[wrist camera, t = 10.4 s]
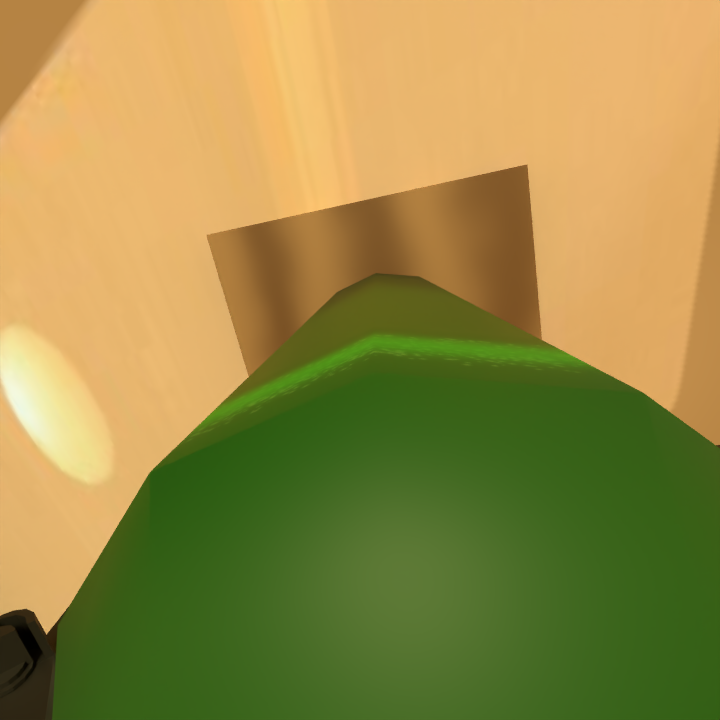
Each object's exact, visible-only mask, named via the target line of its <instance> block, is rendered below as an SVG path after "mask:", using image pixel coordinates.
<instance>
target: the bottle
mask: <svg viewBox="0 0 720 720" xmlns="http://www.w3.org/2000/svg"><path fill="white" fill-rule="evenodd" d="M52 720H720V448H719V447H717V446H716V445H714V444H713V443H712V442H710V441H709V440H707V439H706V438H705V437H703V436H702V435H701V434H699V433H698V432H696V431H695V430H694V429H692V428H691V427H689V426H688V425H687V424H685V423H684V422H683V421H681V420H680V419H679V418H677V417H676V416H674V415H673V414H672V413H670V412H669V411H668V410H666V409H665V408H663V407H662V406H661V405H659V404H658V403H656V402H655V401H654V400H652V399H651V398H650V397H648V396H647V395H645V394H644V393H642V392H640V391H639V390H637V389H635V388H633V387H631V386H629V385H627V384H625V383H623V382H621V381H619V380H617V379H616V378H614V377H612V376H610V375H608V374H606V373H604V372H602V371H600V370H598V369H596V368H594V367H592V366H591V365H589V364H587V363H585V362H583V361H581V360H579V359H577V358H575V357H573V356H571V355H569V354H567V353H566V352H564V351H562V350H560V349H558V348H556V347H554V346H552V345H550V344H548V343H546V342H544V341H543V340H541V339H539V338H537V337H535V336H533V335H531V334H529V333H527V332H525V331H523V330H521V329H519V328H518V327H516V326H514V325H512V324H510V323H508V322H506V321H504V320H502V319H500V318H498V317H496V316H494V315H493V314H491V313H489V312H487V311H485V310H483V309H481V308H479V307H477V306H475V305H473V304H471V303H470V302H468V301H466V300H464V299H462V298H460V297H458V296H456V295H454V294H452V293H450V292H448V291H446V290H445V289H443V288H441V287H439V286H437V285H435V284H433V283H431V282H429V281H427V280H425V279H423V278H421V277H420V276H408V275H395V274H382V273H375V274H373V275H371V276H369V277H367V278H365V279H363V280H360V281H358V282H356V283H354V284H352V285H350V286H348V287H346V288H344V289H342V290H340V291H338V292H336V293H335V294H334V295H333V296H332V297H331V298H330V299H329V300H328V301H327V302H326V303H325V304H324V305H323V306H322V307H321V308H320V309H319V310H318V311H317V312H316V313H315V314H314V315H313V316H312V317H310V318H309V319H308V320H307V321H306V322H305V323H304V324H303V325H302V326H301V327H300V328H299V329H298V330H297V331H296V332H295V333H294V334H293V335H292V336H291V337H290V338H289V339H288V340H287V341H286V342H285V343H284V344H283V345H281V346H280V347H279V348H278V349H277V350H276V351H275V352H274V353H273V354H272V355H271V356H270V357H269V358H268V359H267V360H266V361H265V362H264V363H263V364H262V365H261V366H260V367H259V368H258V369H257V370H256V371H255V372H253V373H252V374H251V375H250V376H249V377H248V378H247V379H246V380H245V381H244V382H243V383H242V384H241V385H240V386H239V387H238V388H237V389H236V390H235V391H234V392H233V393H232V394H231V395H230V396H229V397H228V398H227V399H225V400H224V401H223V402H222V403H221V404H220V405H219V406H218V407H217V408H216V409H215V410H214V411H213V412H212V413H211V414H210V415H209V416H208V417H207V418H206V419H205V420H204V421H203V422H202V423H201V424H200V425H199V426H198V427H196V428H195V429H194V430H193V431H192V432H191V433H190V434H189V435H188V436H187V437H186V438H185V439H184V440H183V441H182V442H181V443H180V444H179V445H178V446H177V447H176V448H175V449H174V450H173V451H172V452H171V453H170V454H168V455H167V456H166V457H165V458H164V459H163V460H162V461H161V462H160V463H159V464H158V465H157V466H156V467H155V468H154V469H153V470H152V471H151V472H150V473H149V475H148V477H147V478H146V480H145V482H144V483H143V485H142V487H141V488H140V490H139V492H138V493H137V495H136V496H135V498H134V500H133V501H132V503H131V505H130V506H129V508H128V510H127V511H126V513H125V515H124V516H123V518H122V520H121V521H120V523H119V525H118V526H117V528H116V530H115V531H114V533H113V535H112V536H111V538H110V540H109V541H108V543H107V545H106V546H105V548H104V550H103V551H102V553H101V555H100V556H99V558H98V560H97V561H96V563H95V565H94V566H93V568H92V569H91V571H90V573H89V574H88V576H87V578H86V579H85V581H84V583H83V584H82V586H81V588H80V589H79V591H78V593H77V594H76V596H75V598H74V599H73V601H72V603H71V604H70V606H69V608H68V609H67V611H66V613H65V614H64V616H63V618H62V619H61V621H60V623H59V624H58V629H57V646H56V663H55V680H54V697H53V714H52Z"/></svg>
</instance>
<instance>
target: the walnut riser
mask: <svg viewBox="0 0 720 720" xmlns="http://www.w3.org/2000/svg"><path fill="white" fill-rule="evenodd" d="M207 239H208V242H209V245H210V249H211V252H212V255H213V259H214V262H215V265H216V269H217V272H218V275H219V279H220V282H221V285H222V289H223V292H224V295H225V299H226V302H227V305H228V309H229V312H230V315H231V319H232V322H233V325H234V329H235V332H236V335H237V339H238V342H239V345H240V349H241V352H242V355H243V359H244V362H245V365H246V369H247V372H248V375H249V376H250V375H251V374H252V373H253V372H255V371H256V370H257V369H258V368H259V367H260V366H261V365H262V364H263V363H264V362H265V361H266V360H267V359H268V358H269V357H270V356H271V355H272V354H273V353H274V352H275V351H276V350H277V349H278V348H279V347H280V346H281V345H283V344H284V343H285V342H286V341H287V340H288V339H289V338H290V337H291V336H292V335H293V334H294V333H295V332H296V331H297V330H298V329H299V328H300V327H301V326H302V325H303V324H304V323H305V322H306V321H307V320H308V319H309V318H310V317H312V316H313V315H314V314H315V313H316V312H317V311H318V310H319V309H320V308H321V307H322V306H323V305H324V304H325V303H326V302H327V301H328V300H329V299H330V298H331V297H332V296H333V295H334V294H335V293H336V292H338V291H340V290H342V289H344V288H346V287H348V286H350V285H352V284H354V283H356V282H358V281H360V280H363V279H365V278H367V277H369V276H371V275H373V274H375V273H382V274H395V275H408V276H420V277H421V278H423V279H425V280H427V281H429V282H431V283H433V284H435V285H437V286H439V287H441V288H443V289H445V290H446V291H448V292H450V293H452V294H454V295H456V296H458V297H460V298H462V299H464V300H466V301H468V302H470V303H471V304H473V305H475V306H477V307H479V308H481V309H483V310H485V311H487V312H489V313H491V314H493V315H494V316H496V317H498V318H500V319H502V320H504V321H506V322H508V323H510V324H512V325H514V326H516V327H518V328H519V329H521V330H523V331H525V332H527V333H529V334H531V335H533V336H535V337H537V338H539V339H541V340H542V337H541V325H540V313H539V301H538V289H537V277H536V265H535V253H534V240H533V228H532V216H531V204H530V192H529V180H528V168H527V165H523V166H518V167H514V168H509V169H505V170H500V171H496V172H491V173H487V174H482V175H478V176H473V177H469V178H464V179H459V180H455V181H450V182H446V183H441V184H437V185H432V186H428V187H423V188H419V189H414V190H409V191H405V192H400V193H396V194H391V195H387V196H382V197H378V198H373V199H369V200H364V201H360V202H355V203H350V204H346V205H341V206H337V207H332V208H328V209H323V210H319V211H314V212H310V213H305V214H301V215H296V216H291V217H287V218H282V219H278V220H273V221H269V222H264V223H260V224H255V225H251V226H246V227H241V228H237V229H232V230H228V231H223V232H219V233H214V234H210V235H207Z"/></svg>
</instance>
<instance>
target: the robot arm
mask: <svg viewBox="0 0 720 720" xmlns="http://www.w3.org/2000/svg"><path fill="white" fill-rule="evenodd" d="M716 446H717V447H719V448H720V445H716ZM68 608H69V607H68ZM68 608H67V609H68ZM67 609H66V611H67ZM66 611H65V612H64V613H63V615H62V616H61V617H60V618H59V620H58V621H57V622H56V623H55V625H54V626H53V627H52V628H51V630H50V631H49V632H48V634H47V635H46V633H45V632H44V630H43V628H42V626H41V624H40V623H39V621H38V619H37V617H36V615H35V614H34V612H32V611H30V610H27V609H23V610H15V611H11V612H9V613H6V614H4V615H1V616H0V720H52V714H53V697H54V680H55V663H56V646H57V629H58V624H59V623H60V621H61V619H62V618H63V616H64V614H65V613H66Z"/></svg>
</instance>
